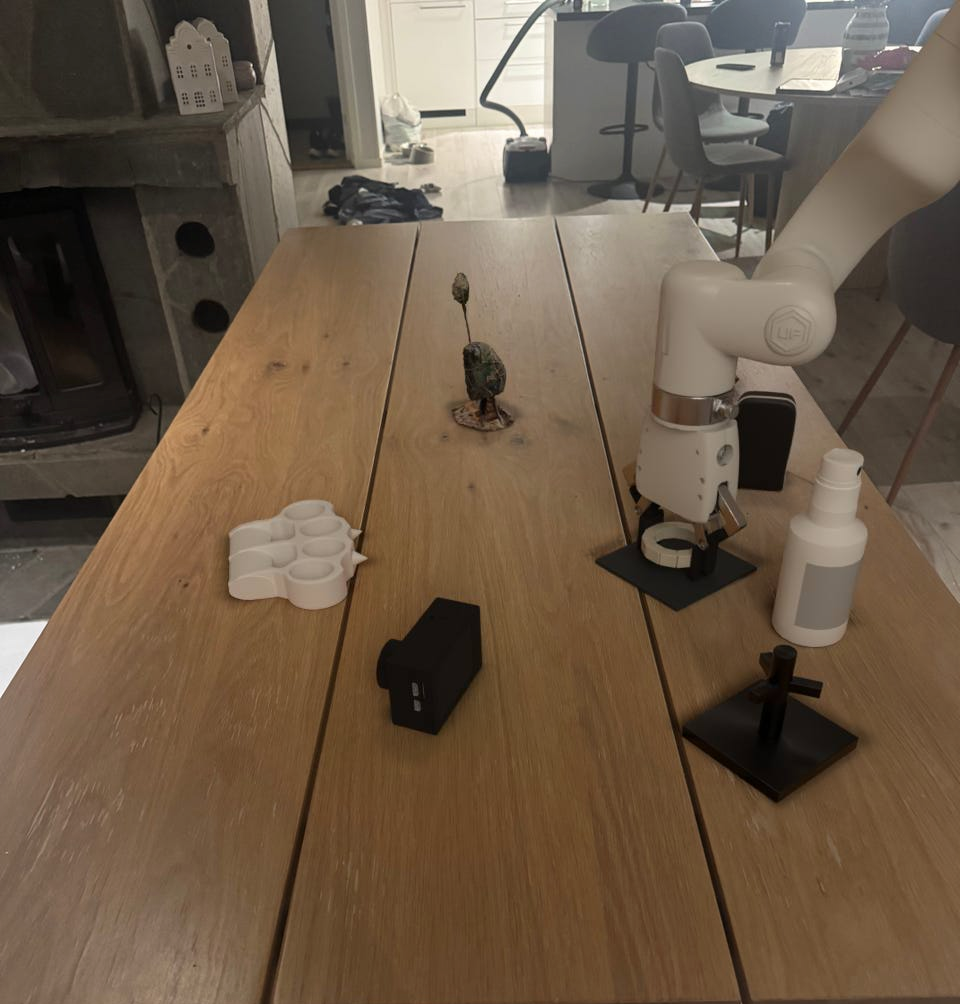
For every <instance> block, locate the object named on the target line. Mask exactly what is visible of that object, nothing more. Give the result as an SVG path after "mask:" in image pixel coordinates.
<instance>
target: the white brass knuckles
mask: <svg viewBox="0 0 960 1004" xmlns="http://www.w3.org/2000/svg"><path fill="white" fill-rule="evenodd" d="M334 506H335V505H334V504H333V503H332V502H329V501H327V500H323V499H302V500H297V501H294V502H293V503H290V504H288V505H287V506H285V507H284V508H283V509H282V510H281V511H280V513H279V514H277V515H275V516H273V517H270V518H264V519H258V520H252V521H248V522H244V523H241V524H238V526H236V527H234V528H232V529H231V531H229V532H228V537H229V555H228V562H229V569H228V572H229V573H228V582H227V587H228V592H229V594H230V595H231V596H232V597H233V598H236V599H240V600H242V601H243V600H244V601H254V600H264V599H265V600H266V599H275V598H280V599H285V600H288V601H289V602H290V603H291V604H292V605H293V606H295V607H297V608H300V609H303V610H309V611H315V610H316V611H317V610H325V609H328V608H331V607H334V606H336V605H338V604H339V603H341V602H342V601H343V600H345V599H346V597H347V596H348V595H349V594H348V593H349V592H348V586H347V585H348V584H347V582H348V581H349V580H350V579H351V578H353V577H354V576H355V573H356V569H357V565H358V564H361V563H362V562H364V561H366V560H368V559H369V557H367V556H365V555H363V554H361V553H359V552H358V551H356V549H355V542H354V540H355V539H356V538H357V537H358V536H359V535H361V533H362V532H363V530H361V529H356V528H352V527H351V525H350V524H349V523H348V521H347V520H346V519H345V517H341V516H339V515H337V514H336V512H335V507H334Z"/></svg>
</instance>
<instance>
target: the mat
mask: <svg viewBox="0 0 960 1004" xmlns="http://www.w3.org/2000/svg"><path fill="white" fill-rule="evenodd" d="M658 545H660V546H662V547H664V548H666V549H671V550H676V551H679V550H689V549H692V548H693V547H694V546H695V544H693V543H691V542H689V541H688V540H683V539H678V538H668V539H662V541H661V543H660V544H658ZM594 563H595V564H596V565H598V566H600V567H601V568H603V569H605V570H606V571H609V573H612V574H613V575H615V576H616V577H618V578H620V579H622V580H623V581H625V582H626V583H628V584H630V585H632V586H633V587H634V588H636V589H638V590H640V591H642V592H643V593H645V594H646V595H648V596H651V598H653V599H655V600H657V601H658V602H659V603H662V604H663V605H665V606H667V607H668V608H670V609H672V610H673V611H675V612H679V611H681V610H683V609H685V608H687V607H688V606H691V605H692V604H695V603H696V602H698V601H700V600H703V599H704V598H706V597H708V596H710V595H712V594H714V593H716V592H718V591H719V590H721V589H724V588H726V587H727V586H729V585H731V584H733V583H735V582H737V581H739V580H741V579H743V578H745V577H746V576H748V575H750V574H752V573H755V572H756V571H758V566H756V565H755V564H752V563H750V562H749V561H747V560H745V559H743V558H741V557H739V556H737V555H735V554H733V553H732V552H729V551H727V550H725V549H723V548H722V547H719V546H718V553H717V560H716V567H715V570H714V571H713V572H712V573H711V574H709V575H707V576H705V577H703V578H701V579H699V580H697V581H693V580H691V579H690V577H689V573H690V567H683V568H677V567H675V568H673V567H668V566H663V565H659V564H656V563H654V562H653V561H651V560H649V559H648V558H646V557H645V555H644V553H643V551H640V550H638V549H637V540H636V541H633V542H631V543H629V544H627V545H625V546H622V547H620V548H618V549H616V550H614V551H612V552H609V553H607V554H605V555H603V556H600V557H598V558H595V560H594Z"/></svg>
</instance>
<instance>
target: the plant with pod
mask: <svg viewBox="0 0 960 1004" xmlns="http://www.w3.org/2000/svg"><path fill="white" fill-rule="evenodd" d="M453 281H454V282H453V283H452V284H451V295H452V297H453V300H454V301H456V302H457V303H459V304H460V305H461V308H462V311H463V318H464V321H465V327H466V331H467V337H468V343H467V344H466V345H465V346H464V347H463V349H462V352H461V353H462V355H463V357H462V358H463V359H462V361H463V363H462V364H463V370H464V383H465V386H466V389H465V390H466V393H467V395H468V399H469V401H467V402H465V403H464V405H461V406H458V408H457V407H455V408H453V409H451V412H452V413H453V414H454V418H455V420H454V421H457V422H456V423H457V424H458V425H464V426H468V427H469V428H474V429H476V430H478V431H481V432H482V431H483V432H492V431H493V432H496V430H498V431H500V430H502V429H506V428H509V427H510V426H512V424H514V422H515V419H514V417H512V414H511V413H510V411H509V410H504V408H503V407H501V406H500V404H498V403H497V400H496V396H500V395H501V394H502V393H504V391H505V387H506V383H507V369H506V367H505V363H503V360H502V359H501V358H500V356H499V355H498V354H497V352H496V351H495V349H494V348H493V347H492V346H491V345H490V344H488V343H485V342H482V341H472V339H471V332H470V326H469V321H468V318H467V304H468V301H469V300H470V299H469V298H470V288H471V287H470V284H469V280H468V277H467V276H466V274H464V272H457V274H456V276H455V277H454V279H453Z"/></svg>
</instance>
